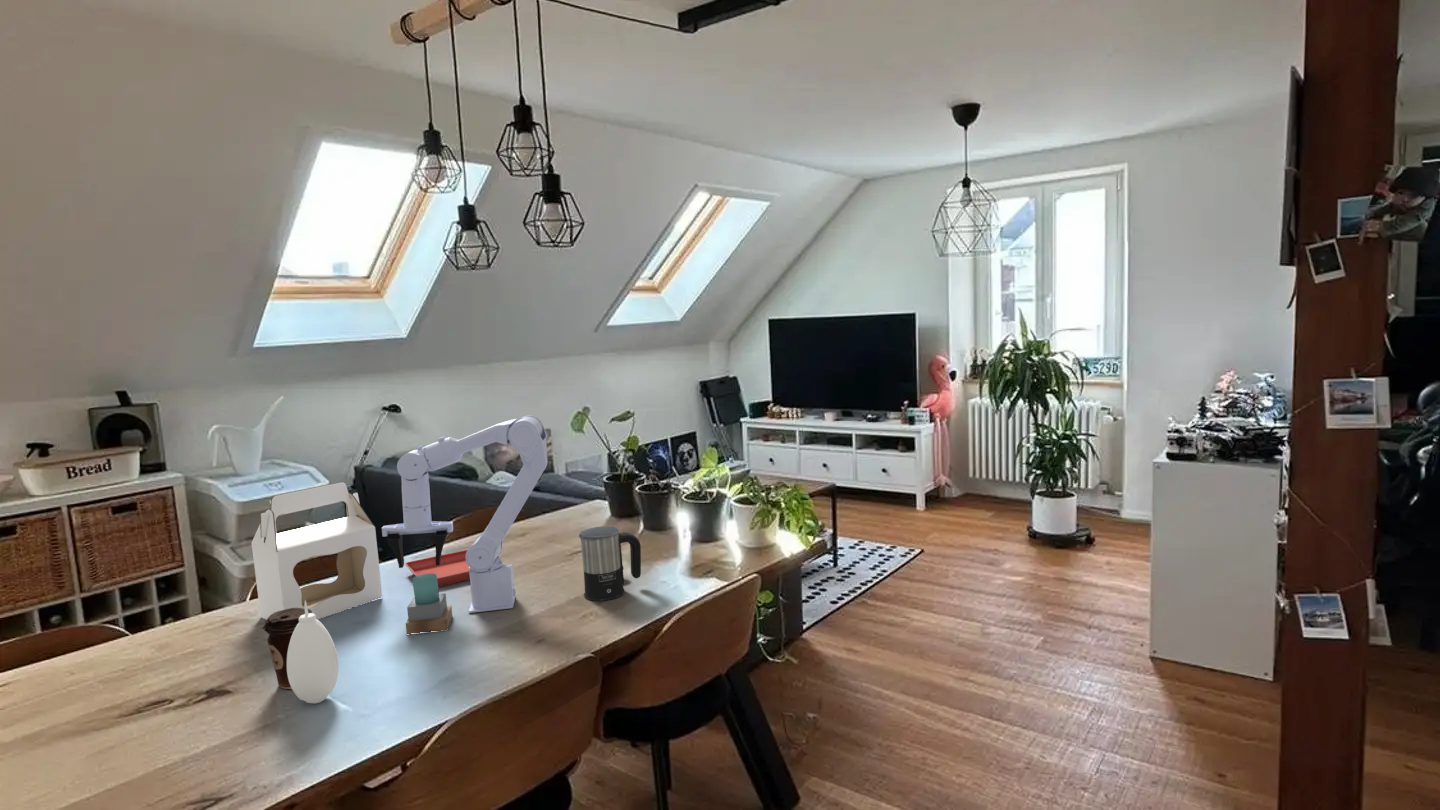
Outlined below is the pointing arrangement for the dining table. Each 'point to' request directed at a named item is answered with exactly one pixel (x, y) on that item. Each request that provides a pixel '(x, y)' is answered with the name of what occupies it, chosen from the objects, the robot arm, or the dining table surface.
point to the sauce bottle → (311, 660)
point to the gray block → (427, 609)
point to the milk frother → (607, 561)
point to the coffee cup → (282, 639)
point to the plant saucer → (443, 567)
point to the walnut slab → (430, 623)
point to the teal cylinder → (425, 588)
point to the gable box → (316, 554)
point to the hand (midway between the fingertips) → (420, 565)
